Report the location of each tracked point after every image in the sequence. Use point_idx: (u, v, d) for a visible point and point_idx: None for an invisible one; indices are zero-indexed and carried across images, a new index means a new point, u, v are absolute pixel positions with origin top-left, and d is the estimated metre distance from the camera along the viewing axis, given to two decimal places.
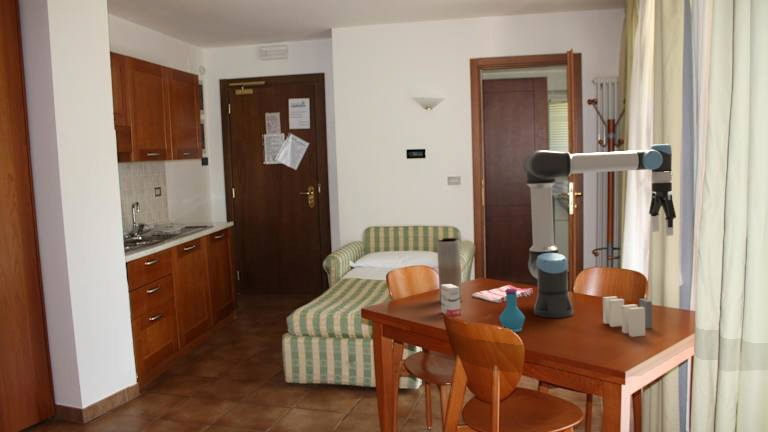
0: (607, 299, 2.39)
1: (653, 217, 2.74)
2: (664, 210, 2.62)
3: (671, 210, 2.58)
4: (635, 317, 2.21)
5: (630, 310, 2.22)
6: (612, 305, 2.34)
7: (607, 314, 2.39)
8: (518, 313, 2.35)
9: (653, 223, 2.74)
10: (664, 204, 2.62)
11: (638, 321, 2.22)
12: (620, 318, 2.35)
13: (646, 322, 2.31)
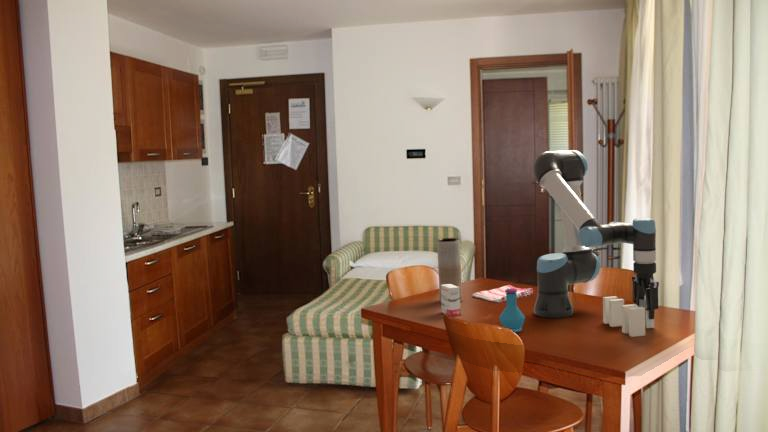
0: (607, 299, 2.39)
1: None
2: (646, 298, 2.30)
3: (654, 301, 2.26)
4: (635, 317, 2.21)
5: (630, 310, 2.22)
6: (612, 305, 2.34)
7: (607, 314, 2.39)
8: (518, 313, 2.35)
9: None
10: (647, 290, 2.29)
11: (638, 321, 2.22)
12: (620, 318, 2.35)
13: None
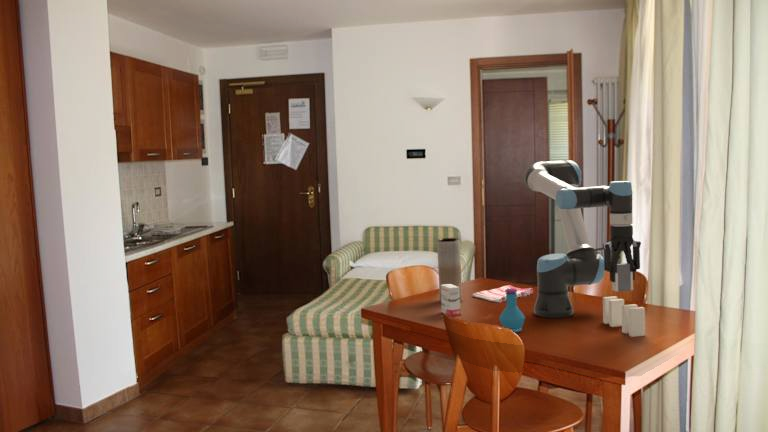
0: (607, 299, 2.39)
1: None
2: None
3: (605, 263, 2.29)
4: (635, 317, 2.21)
5: (630, 310, 2.22)
6: (612, 305, 2.34)
7: (607, 314, 2.39)
8: (518, 313, 2.35)
9: None
10: (613, 253, 2.30)
11: (638, 321, 2.22)
12: (620, 318, 2.35)
13: None
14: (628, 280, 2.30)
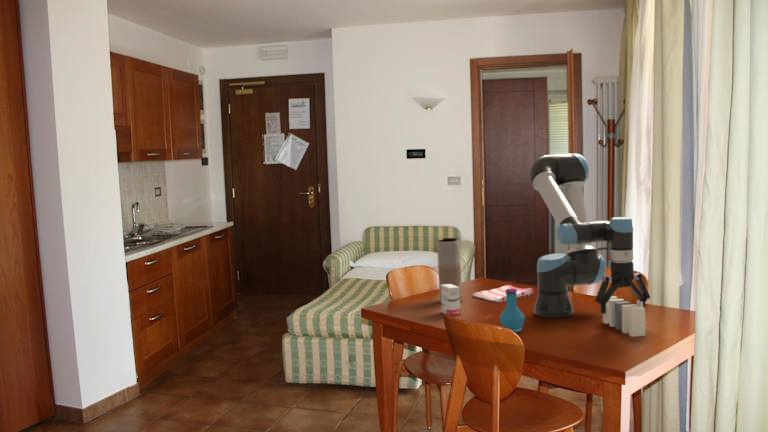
0: None
1: (637, 301, 2.33)
2: None
3: (598, 294, 2.30)
4: (635, 317, 2.21)
5: (630, 310, 2.21)
6: (612, 305, 2.34)
7: None
8: (518, 313, 2.35)
9: None
10: (610, 286, 2.31)
11: (638, 321, 2.22)
12: None
13: None
14: None
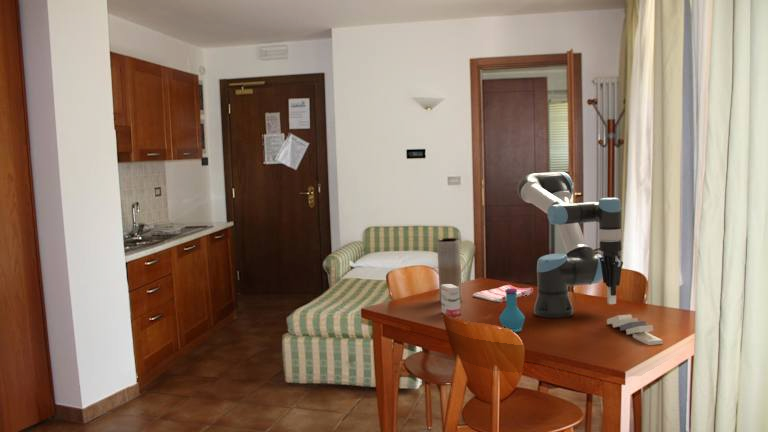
0: None
1: None
2: (609, 275, 2.37)
3: (616, 279, 2.34)
4: None
5: (647, 344, 2.12)
6: (623, 324, 2.27)
7: None
8: (518, 313, 2.35)
9: None
10: (611, 268, 2.36)
11: None
12: None
13: (623, 325, 2.28)
14: None
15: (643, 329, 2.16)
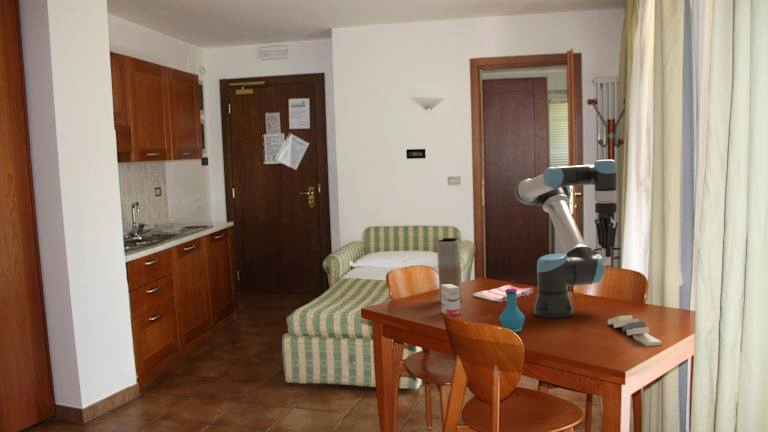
0: None
1: None
2: (604, 236, 2.38)
3: (611, 240, 2.36)
4: None
5: (646, 345, 2.12)
6: (624, 325, 2.26)
7: None
8: (518, 313, 2.35)
9: None
10: (606, 230, 2.38)
11: None
12: None
13: (625, 326, 2.27)
14: None
15: (638, 331, 2.14)
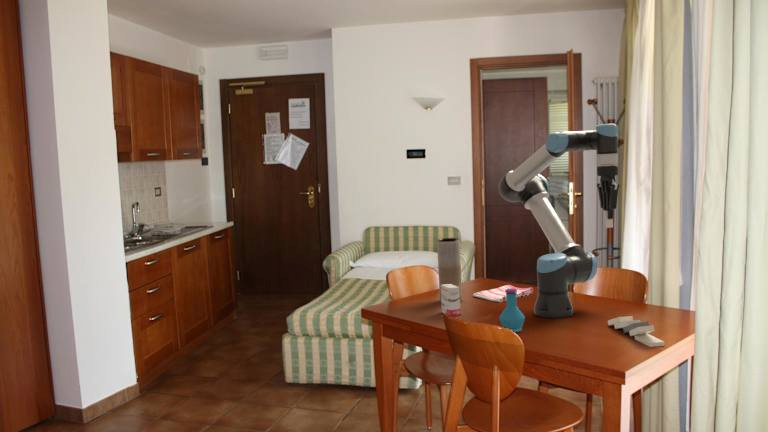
0: None
1: None
2: (606, 199, 2.44)
3: (613, 202, 2.42)
4: None
5: (649, 346, 2.10)
6: (626, 326, 2.25)
7: None
8: (518, 313, 2.35)
9: None
10: (608, 192, 2.44)
11: None
12: None
13: (626, 327, 2.25)
14: None
15: (643, 330, 2.12)
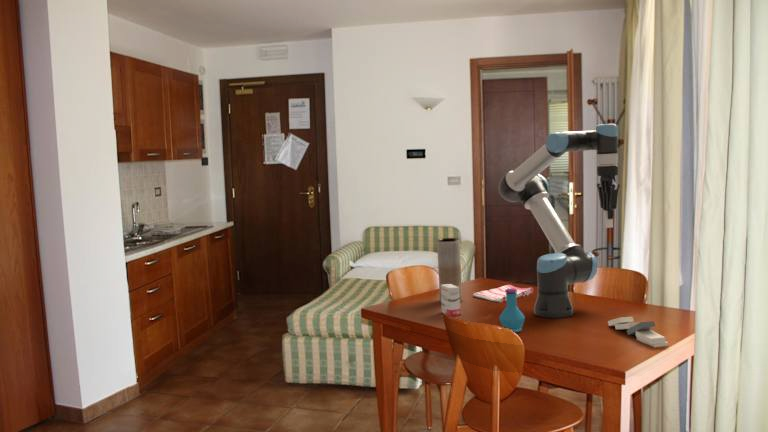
0: (621, 322, 2.28)
1: None
2: (606, 199, 2.44)
3: (613, 202, 2.42)
4: None
5: None
6: (627, 328, 2.24)
7: (614, 324, 2.33)
8: (518, 313, 2.35)
9: None
10: (608, 192, 2.44)
11: None
12: None
13: None
14: None
15: (655, 341, 2.09)
